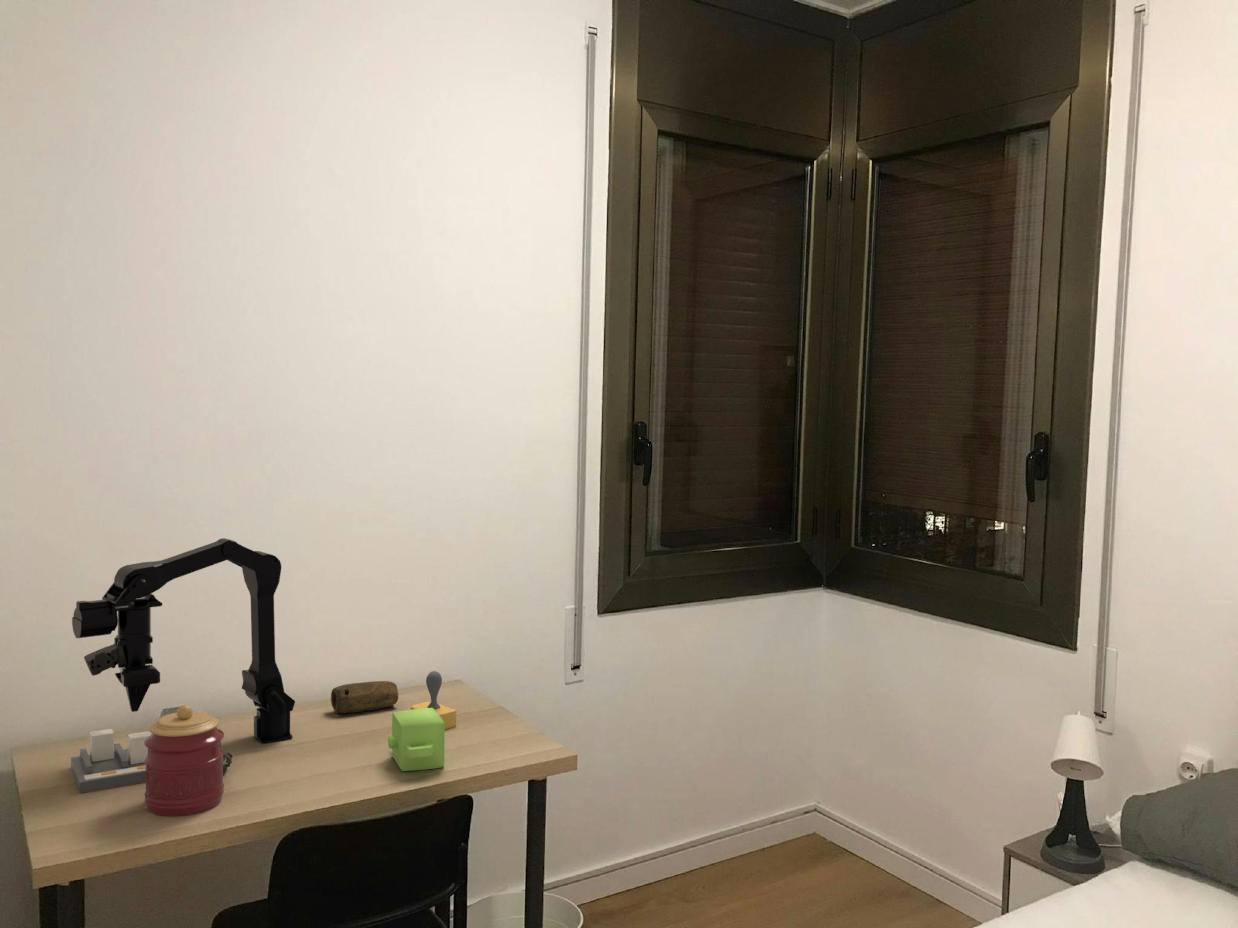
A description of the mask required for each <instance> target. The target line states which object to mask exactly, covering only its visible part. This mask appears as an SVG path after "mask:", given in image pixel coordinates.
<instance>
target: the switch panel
mask: <svg viewBox="0 0 1238 928" xmlns="http://www.w3.org/2000/svg"><path fill="white" fill-rule="evenodd" d="M70 769H71V772H72V775H73V777H74V780H75V784H76V787H77V790H78V793H79V794H83V793H84V794H85V793H90V792H97V791H101V790H106V789H113V788H118V787H119V788H120V787H125V786H130V785H136V784H143V783H146V764H145V762H144V763H138V764H132V765H131V764H130V762H129V760H128V748H126V749H125V748H124V749H123V747H122V745H121V743H114V759H108V760H102V761H96V762H92V761H91V758H90V754H89V753H88V751H87V748H82V749H81V748H80V749H79V756H72V757H70Z"/></svg>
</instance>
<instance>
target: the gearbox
mask: <svg viewBox="0 0 1238 928" xmlns="http://www.w3.org/2000/svg"><path fill="white" fill-rule="evenodd" d="M391 715H392V716H391V717H392V719H391V734H389V735H388V737H387V743H388V748H389V750H391V755H392V757H393V758H394V761H395V762H396V764H397V766H398V767H399V769H400V770H401V771H402V772H409V771H423V770H431V769H439V768H444V767H445V738H446V737H445V736H446V735H445V733H446V732H445V731H446V729H445V723H444V721H443V720H442V718H441V717H440V716H439V714H438V713H437V712H436V711H435V710H434V709H433V708H421V709H412V710H411V709H406V710H405V709H404V710H400V711H393V712H392V713H391Z"/></svg>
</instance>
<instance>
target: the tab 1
mask: <svg viewBox="0 0 1238 928" xmlns="http://www.w3.org/2000/svg"><path fill="white" fill-rule="evenodd" d="M114 744H115V732H114V730H113V729H112V728H109V729H101V730H93V731H89V755H90V758H91V761H92V762H96V761H102V760H108V759H114Z"/></svg>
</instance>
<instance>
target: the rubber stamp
mask: <svg viewBox="0 0 1238 928" xmlns="http://www.w3.org/2000/svg"><path fill="white" fill-rule="evenodd" d="M425 681H426V688H427V690H428V692H429V696H430V701H425V702H421V703H416V704H413V705H411V706H410V710H412V709H421V708H433V709H434V710H435V711H436V712H437V713H438V714H439V716H440V717H441V718H442V720H443V721H444V723H445V730H448V729H451V728H452V729H453V728H455V727H457V710H456V709H453V708H451V707H448V706H446V705H443V704H440V703H438V701H437V700H438V694H439V692H440V689H441V686H442V683H443V677H442V675H441V673H440V672H438V671H436V670H431V671H430V672H429V673H428V674H427V676H426V680H425Z"/></svg>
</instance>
